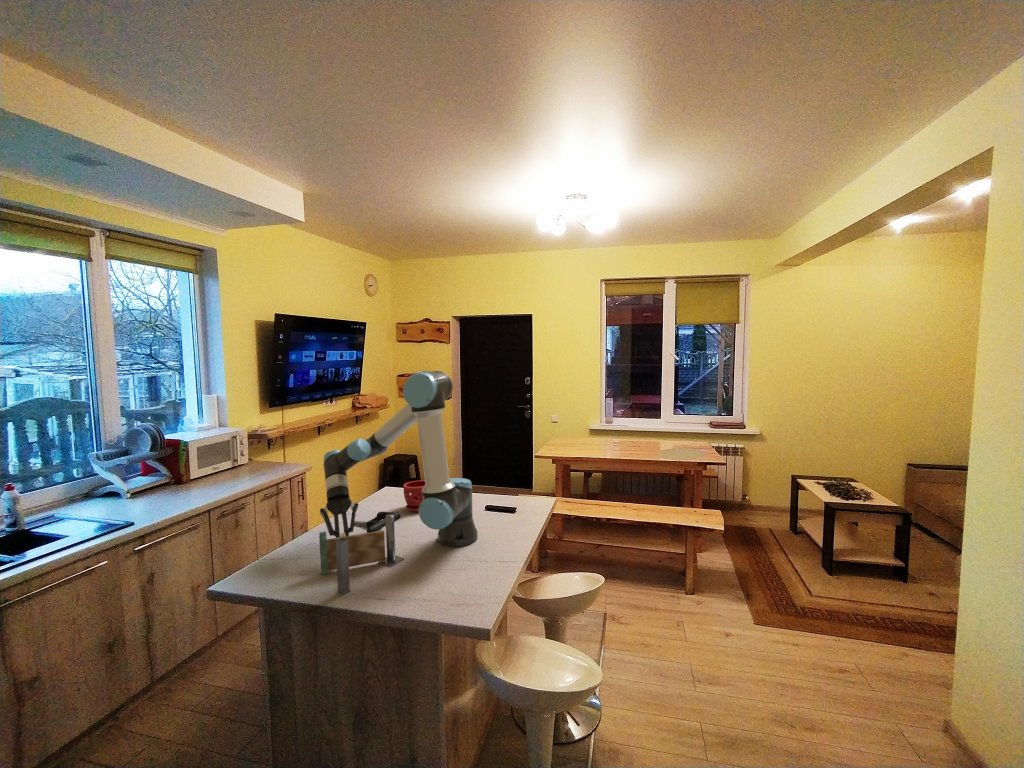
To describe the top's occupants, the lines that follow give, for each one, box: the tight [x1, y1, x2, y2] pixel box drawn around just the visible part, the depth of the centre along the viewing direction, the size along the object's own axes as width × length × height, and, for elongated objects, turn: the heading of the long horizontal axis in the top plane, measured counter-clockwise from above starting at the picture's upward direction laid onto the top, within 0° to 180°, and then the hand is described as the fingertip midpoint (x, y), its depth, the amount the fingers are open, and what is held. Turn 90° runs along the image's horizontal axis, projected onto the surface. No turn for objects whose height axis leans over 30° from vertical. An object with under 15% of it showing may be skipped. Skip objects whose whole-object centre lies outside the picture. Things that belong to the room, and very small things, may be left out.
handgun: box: [354, 511, 402, 533], centre depth 182 cm, size 3×20×16 cm
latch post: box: [336, 538, 351, 596], centre depth 128 cm, size 2×2×16 cm
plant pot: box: [403, 479, 425, 513], centre depth 199 cm, size 13×13×12 cm
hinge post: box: [378, 514, 405, 568], centre depth 147 cm, size 6×6×16 cm
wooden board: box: [318, 529, 386, 575], centre depth 143 cm, size 20×2×13 cm, turn 112°
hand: (344, 552), depth 144 cm, fingers closed
